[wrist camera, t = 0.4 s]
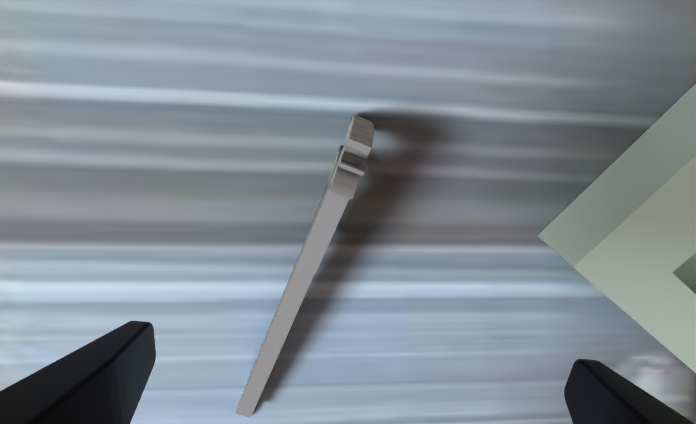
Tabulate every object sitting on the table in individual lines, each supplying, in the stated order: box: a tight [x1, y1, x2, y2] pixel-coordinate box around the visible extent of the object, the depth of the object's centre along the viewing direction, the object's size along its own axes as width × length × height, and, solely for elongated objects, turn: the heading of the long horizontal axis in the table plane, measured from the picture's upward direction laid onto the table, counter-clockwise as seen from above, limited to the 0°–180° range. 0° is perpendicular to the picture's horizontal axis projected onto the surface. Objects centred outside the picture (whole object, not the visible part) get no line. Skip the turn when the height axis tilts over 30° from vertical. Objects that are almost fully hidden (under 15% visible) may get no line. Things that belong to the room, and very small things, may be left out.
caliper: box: [235, 114, 374, 417], centre depth 22 cm, size 20×1×6 cm, turn 158°
